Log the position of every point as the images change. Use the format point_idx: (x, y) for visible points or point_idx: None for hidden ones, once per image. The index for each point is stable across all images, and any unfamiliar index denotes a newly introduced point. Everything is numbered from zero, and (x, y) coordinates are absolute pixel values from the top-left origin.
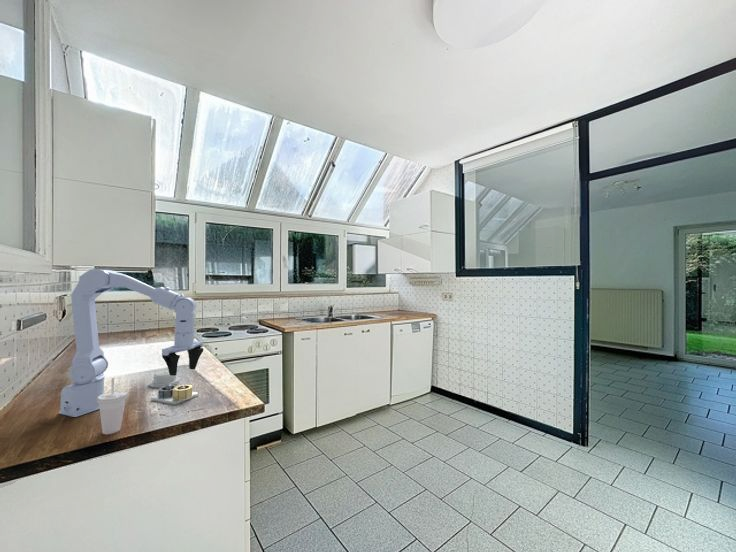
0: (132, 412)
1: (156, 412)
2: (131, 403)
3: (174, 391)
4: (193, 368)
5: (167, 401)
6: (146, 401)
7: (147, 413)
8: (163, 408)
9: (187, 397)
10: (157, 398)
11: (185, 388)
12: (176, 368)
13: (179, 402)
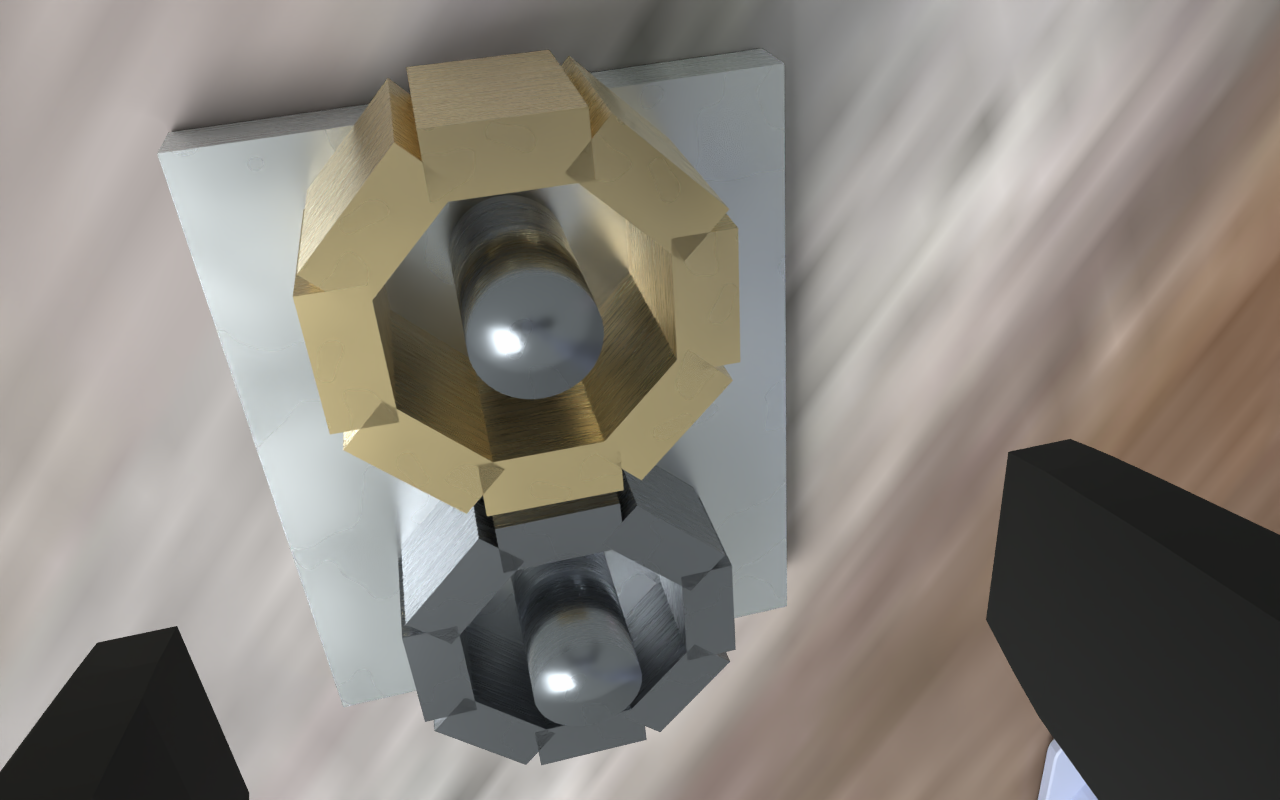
0: (1161, 346)
1: (1103, 26)
2: (929, 648)
3: (729, 313)
4: (180, 677)
5: (777, 270)
6: (816, 583)
7: (1159, 121)
8: (941, 95)
9: (521, 54)
10: (781, 497)
11: (496, 274)
12: (1238, 576)
13: (676, 66)
